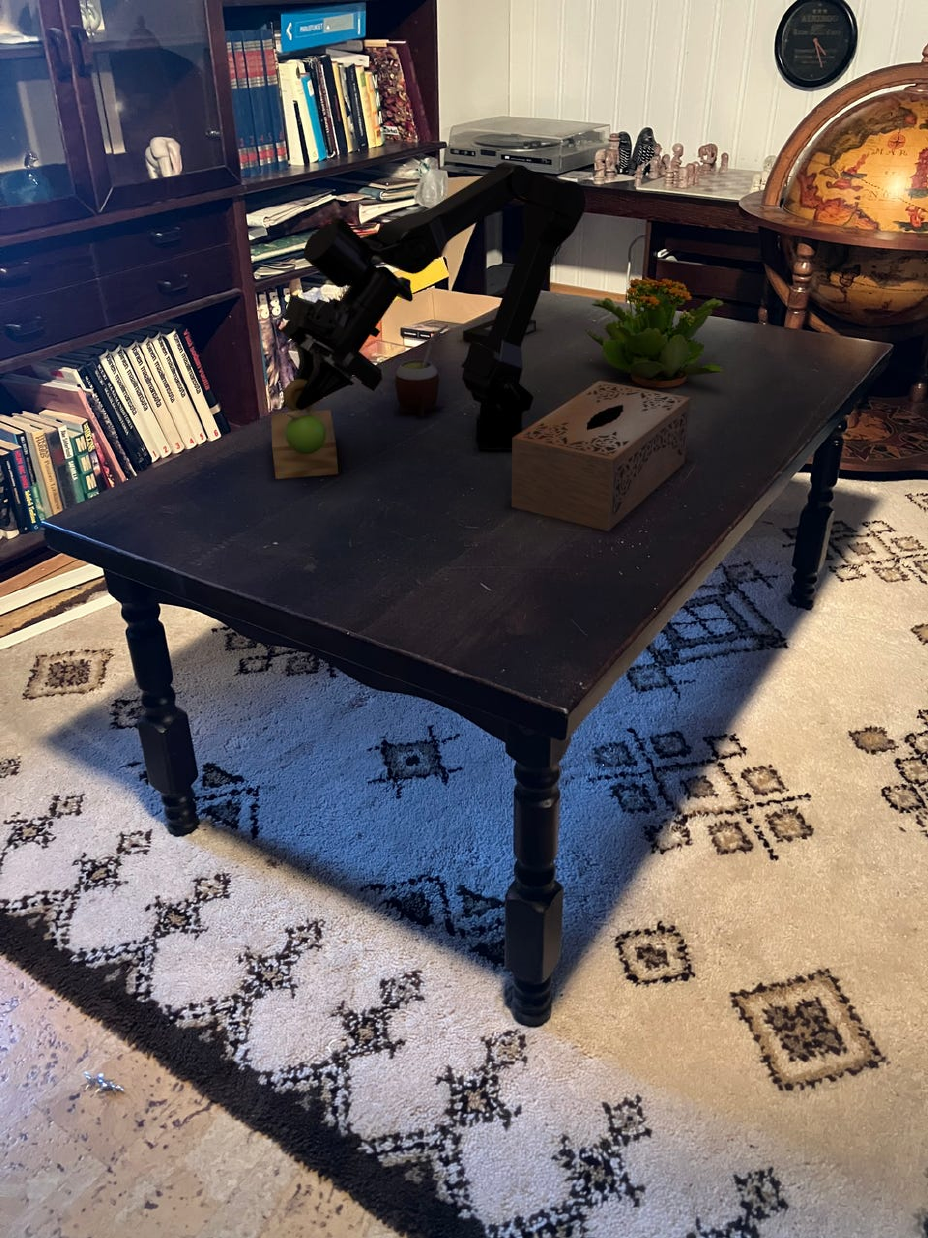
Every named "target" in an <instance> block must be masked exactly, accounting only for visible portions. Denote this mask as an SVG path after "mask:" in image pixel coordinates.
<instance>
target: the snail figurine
mask: <svg viewBox="0 0 928 1238" xmlns="http://www.w3.org/2000/svg"><path fill="white" fill-rule="evenodd" d="M306 383H307V381H306V380H303V379H297V380H295V379H293V380H292V381H290V382H288V384H287V385H286V386H285V389H284V391H283V395H282V396H283V397H282V398H283V400H282V401H283V404H284V405H285V407H286V408H287V409H288V410H290V411H287V412H286V413H287V415H288V416H289V417H291V418H292V419H291V420H290V421H289V422H288V424H287V427H286V431H285V435H286V440H287V442H288V444H289V446H290V447H291V448H292V449H293V450H295V451H296V452H298V453H301V454H311V453H314V452H316V451H318V450H319V449H320V448H321V447H322V446H323V444H324V442H325V439H326V430H325V427H324V424H323V423H322V421H321V420H320V419H319V418H318V417H316V416H314V415H312V414H310V413H311V412H312V411H315V409H317V407H318V404H319V402H320V400H319V401H317V402H316V403H314V404H312V405H310V406H309V407H307V408H305V409H304V410H299V409H298V408H296V407H295V404H296V402H297V400H298V398H299V396H300V394H301V392H302V390H303V388H304V387H305V385H306Z"/></svg>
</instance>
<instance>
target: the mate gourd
mask: <svg viewBox="0 0 928 1238" xmlns="http://www.w3.org/2000/svg"><path fill="white" fill-rule="evenodd" d="M448 326H449V325H448V324H446V325H444V326H442V327H441V328H439V329H437V330H436V331H435V332H434V333H433V334H432V336H430V338H429V341H428V347H427V349H426V353H425V356H424V359H411V360H410V359H409V360H406V361H403V362H402V363H400V365H399V366H398V368H397V371H396V373H395V374H396V375H395V381H394V384H395V385H394V386H395V391H396V397H397V398H396V399H397V401H398V404H399V407H400V410H399V414H400V415H401V416H403V415H404V416H405V415H411V414H417V416H418V417H419V418H420V419H425V418H426V413H427V412H434V411H437V410H438V409H437V408H438V407H437V406H436V403H437V398H438V394H439V386H440V378H439V374H438V369H437V368H436V366H435V365H434V364H433V363H432V362H431V361H429V358H430V354H431V351H432V348H433V345H434V344H435V342H436V338H437V337H438V336H439V334H441V333H442V332H443V331H444V330H446V328H448Z"/></svg>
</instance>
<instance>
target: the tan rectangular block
mask: <svg viewBox="0 0 928 1238" xmlns="http://www.w3.org/2000/svg"><path fill="white" fill-rule="evenodd" d="M331 412H332V411H331V410H330V409H328V410H313V411H312V412H311V413H310V414H312V415H314V416H316V417H318V418H319V419H320V420H321V421H322V423H323V424H324V427H325V430H326V439H325V442H324V444H323V446H322V447H321V448H320V449H319V450H318V451H316V452H314V453H311V454H301V453H298V452H296V451H295V450H293V449H292V448H291V447H290V446H289V444H288V442H287V440H286V435H285V431H286V427H287V424H288V422H289V421H290V420H291V419H292V418H291V417H289V416H288V415H287V412H285V413H275V414H274V413H272V414H270V422H271V426H270V427H271V448H272V449H271V450H272V458H273V466H274V467H273V468H274V473H275V474H274V475H275V479H276V480H277V479H278V480H281V479H282V480H283V479H293V478H295V479H296V478H305V477H318V476H319V477H320V476H333V475H338V474H339V466H338V455H337V453H338V452H337V442H336V436H335V435H336V434H335V430H334V429H335V428H334V423H333V418H332V417H333V416H332V413H331Z"/></svg>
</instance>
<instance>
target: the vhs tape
mask: <svg viewBox="0 0 928 1238" xmlns="http://www.w3.org/2000/svg"><path fill="white" fill-rule="evenodd" d="M494 320H495V318H493V319H492V320H488V321H486V322H483V323H480V324H478V325H475V326H473V327H470V328H467V329H465V330H462V341H463V342H467V343H471V342H472V341H474V342H476V343H479V344H480V343H481V342H482V341H483V340H484V339H485V338H486V337H487V336H488V335H489V333H490V331H491V328H492V325H493V323H494ZM535 331H537V320H536V319H532V318H531V319H530V322H529V325H528V328H527V330H526V333H525V335H528V334H530V333H533V332H535Z"/></svg>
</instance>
